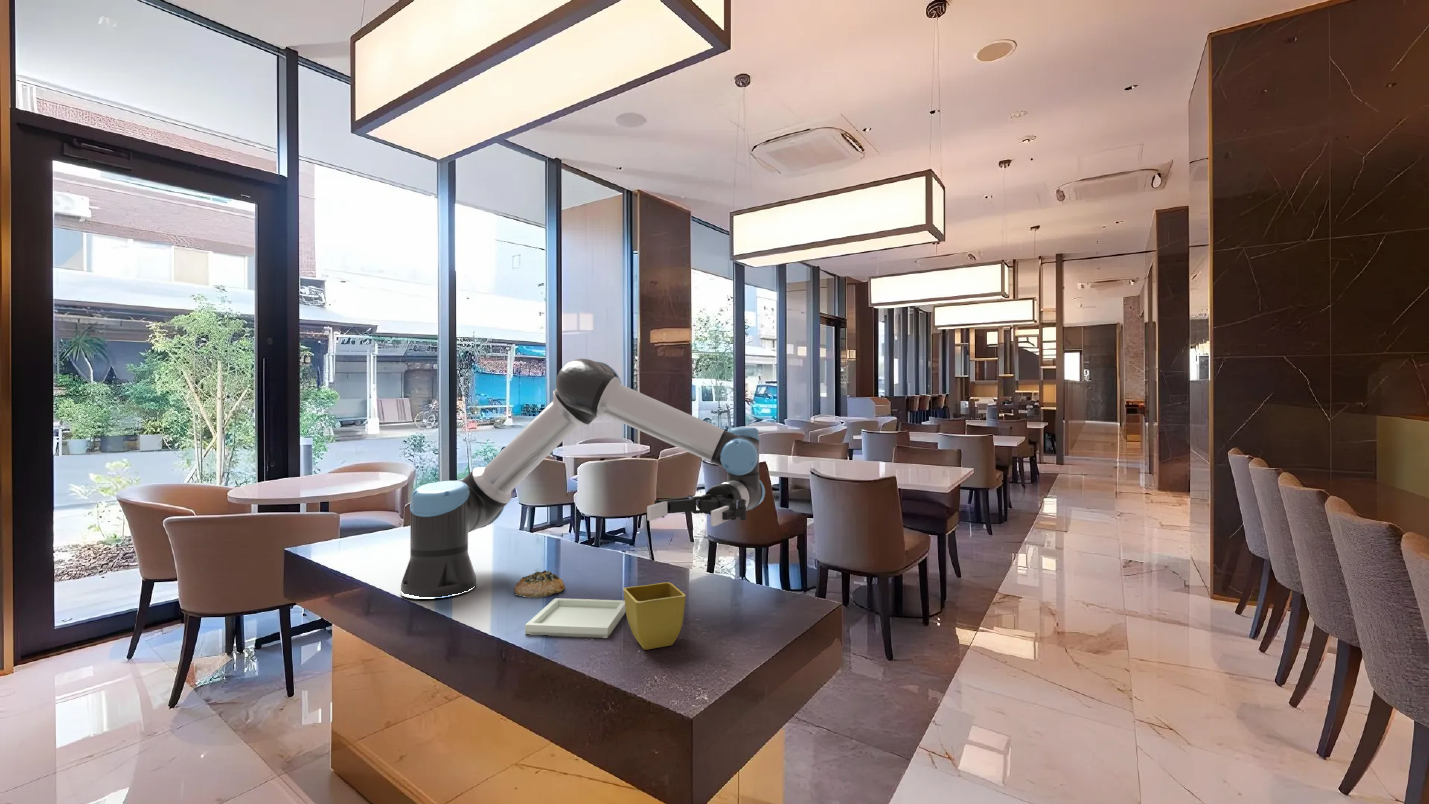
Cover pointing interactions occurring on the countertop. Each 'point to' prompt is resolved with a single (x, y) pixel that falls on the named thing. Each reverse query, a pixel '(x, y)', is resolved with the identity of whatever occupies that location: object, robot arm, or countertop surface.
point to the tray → (577, 618)
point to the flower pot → (654, 613)
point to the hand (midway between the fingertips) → (679, 516)
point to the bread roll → (539, 585)
